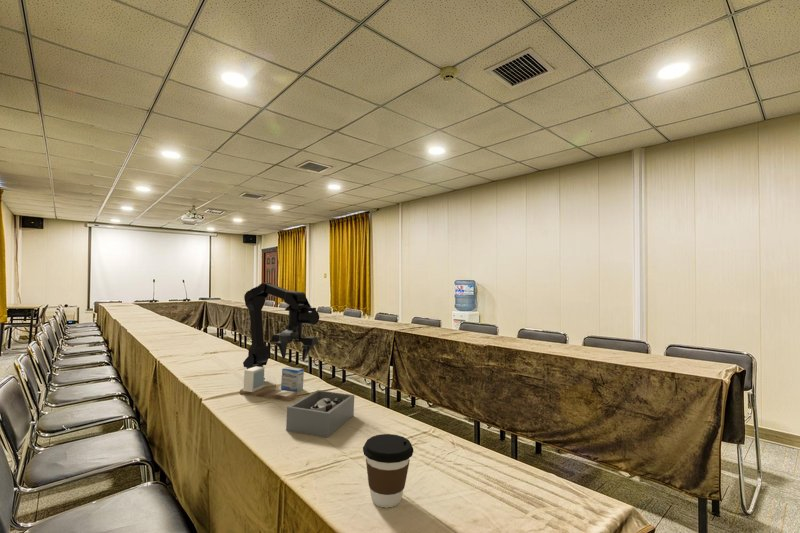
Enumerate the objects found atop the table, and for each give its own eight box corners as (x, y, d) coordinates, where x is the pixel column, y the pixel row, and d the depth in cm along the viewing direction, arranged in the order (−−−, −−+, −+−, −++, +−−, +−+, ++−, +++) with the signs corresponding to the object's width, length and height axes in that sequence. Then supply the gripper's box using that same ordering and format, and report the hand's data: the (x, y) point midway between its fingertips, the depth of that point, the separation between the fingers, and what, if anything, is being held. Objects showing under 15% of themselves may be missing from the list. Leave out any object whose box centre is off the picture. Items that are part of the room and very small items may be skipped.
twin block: (243, 390, 148) (244, 370, 148) (255, 386, 154) (256, 366, 154) (252, 392, 146) (253, 371, 147) (264, 387, 153) (265, 367, 153)
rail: (239, 393, 149) (240, 389, 149) (249, 389, 154) (250, 385, 154) (289, 401, 142) (289, 396, 142) (297, 396, 148) (298, 392, 148)
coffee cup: (410, 486, 88) (412, 433, 88) (413, 516, 77) (415, 455, 77) (362, 485, 87) (364, 432, 88) (358, 515, 76) (361, 454, 77)
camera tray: (286, 430, 116) (287, 407, 116) (316, 410, 134) (317, 390, 134) (327, 437, 112) (328, 413, 112) (353, 415, 130) (354, 395, 130)
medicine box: (280, 389, 156) (281, 368, 156) (286, 386, 160) (287, 366, 160) (297, 392, 153) (298, 370, 154) (303, 389, 158) (304, 368, 158)
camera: (331, 415, 130) (330, 389, 130) (347, 420, 125) (346, 393, 125) (299, 428, 120) (298, 400, 120) (315, 435, 115) (314, 406, 115)
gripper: (264, 322, 152) (261, 361, 152) (305, 326, 147) (303, 366, 147) (280, 319, 163) (278, 356, 163) (319, 323, 158) (317, 361, 158)
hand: (293, 360), depth 157 cm, fingers open, 9 cm apart
